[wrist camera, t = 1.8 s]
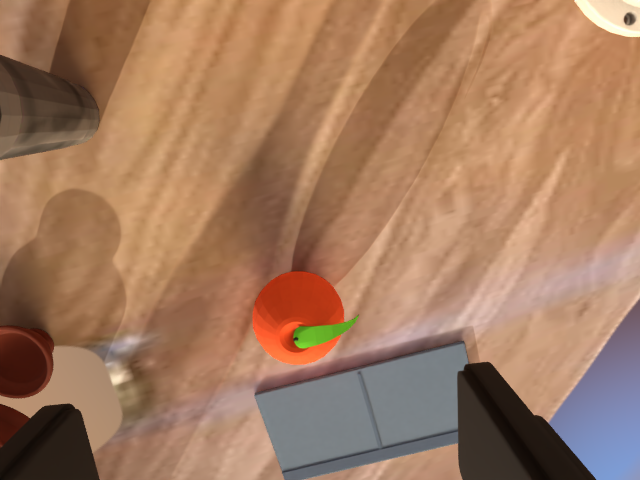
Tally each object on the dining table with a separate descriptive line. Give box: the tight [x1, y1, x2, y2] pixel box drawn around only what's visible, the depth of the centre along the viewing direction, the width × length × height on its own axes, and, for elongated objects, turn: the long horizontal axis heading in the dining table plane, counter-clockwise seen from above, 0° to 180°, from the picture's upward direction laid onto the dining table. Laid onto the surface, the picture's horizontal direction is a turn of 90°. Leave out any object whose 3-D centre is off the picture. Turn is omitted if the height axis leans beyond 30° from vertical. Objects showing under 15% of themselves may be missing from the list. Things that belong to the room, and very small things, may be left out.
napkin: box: [254, 341, 469, 480], centre depth 36 cm, size 19×10×1 cm, turn 106°
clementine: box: [253, 271, 359, 364], centre depth 30 cm, size 8×7×7 cm
